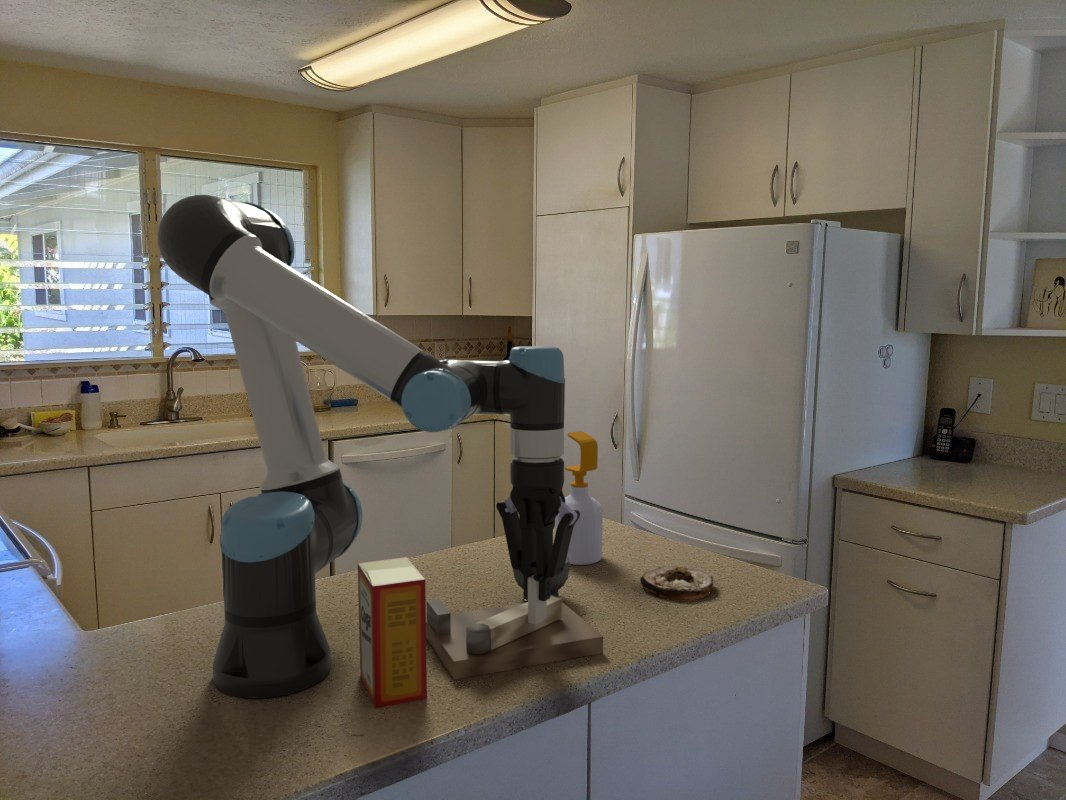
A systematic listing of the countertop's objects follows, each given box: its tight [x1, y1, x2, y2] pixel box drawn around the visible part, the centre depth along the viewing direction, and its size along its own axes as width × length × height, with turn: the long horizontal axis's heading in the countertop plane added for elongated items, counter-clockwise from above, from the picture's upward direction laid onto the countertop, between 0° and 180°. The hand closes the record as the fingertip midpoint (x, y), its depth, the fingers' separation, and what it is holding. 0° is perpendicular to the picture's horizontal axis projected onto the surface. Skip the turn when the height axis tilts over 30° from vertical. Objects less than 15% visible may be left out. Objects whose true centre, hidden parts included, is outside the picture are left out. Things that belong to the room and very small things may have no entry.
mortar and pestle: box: [512, 555, 571, 601], centre depth 139 cm, size 11×9×12 cm
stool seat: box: [426, 598, 604, 680], centre depth 121 cm, size 22×16×6 cm
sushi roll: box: [640, 565, 714, 602], centre depth 144 cm, size 15×15×4 cm
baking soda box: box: [357, 556, 428, 709], centre depth 107 cm, size 10×6×16 cm
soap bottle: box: [554, 430, 604, 566], centre depth 159 cm, size 9×9×25 cm
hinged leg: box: [466, 596, 563, 654], centre depth 118 cm, size 18×3×3 cm, turn 139°
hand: (537, 620), depth 118 cm, fingers closed
